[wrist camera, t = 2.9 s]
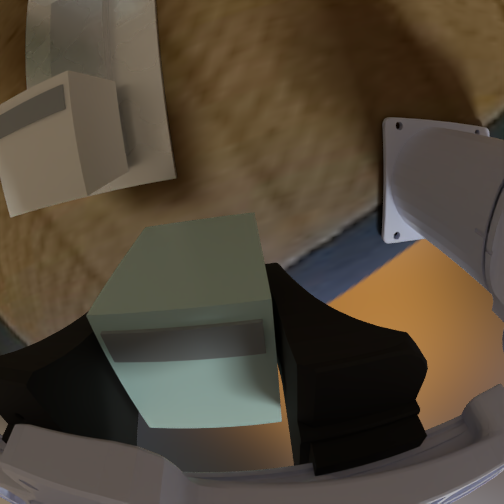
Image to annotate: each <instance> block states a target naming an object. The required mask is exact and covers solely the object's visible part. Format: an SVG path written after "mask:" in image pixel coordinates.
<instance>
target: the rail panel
mask: <svg viewBox="0 0 504 504" xmlns="http://www.w3.org/2000/svg"><path fill="white" fill-rule="evenodd" d="M67 70H68V71H73V72H78V73H83V74H87V75H92V76H96V77H100V78H104V79H108V80H112V81H115V84H116V92H117V101H118V108H119V115H120V122H121V129H122V135H123V141H124V147H125V153H126V158H127V164H128V169H129V172H127V173H125V174H124V175H122V176H120V177H118V178H117V179H115V180H113V181H112V182H110V183H108V184H107V185H105V186H103V187H102V188H100V189H98V190H97V191H95V192H94V193H92V194H90V195H89V196H91V195H96V194H100V193H104V192H109V191H113V190H118V189H123V188H128V187H132V186H137V185H142V184H148V183H153V182H158V181H164V180H170V179H175V178H177V172H176V166H175V160H174V154H173V148H172V141H171V135H170V128H169V121H168V114H167V106H166V99H165V91H164V83H163V74H162V65H161V56H160V45H159V35H158V23H157V9H156V0H57V1H55V2H53V3H51V4H49V5H48V6H46V7H44V6H41V5H39V4H37V3H34V2H32V1H30V0H28V7H27V20H26V83H27V89H29V88H31V87H33V86H35V85H37V84H39V83H41V82H43V81H45V80H47V79H49V78H52V77H54V76H56V75H58V74H60V73H63V72H65V71H67ZM86 197H87V196H86ZM82 198H83V197H82ZM78 199H79V198H78ZM74 200H75V199H74ZM70 201H71V200H70ZM66 202H67V201H66ZM55 205H56V204H55ZM51 206H52V205H51Z"/></svg>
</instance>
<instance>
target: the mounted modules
mask: <svg viewBox="0 0 504 504" xmlns="http://www.w3.org/2000/svg"><path fill="white" fill-rule="evenodd" d="M30 1H32V2H34V3H37V4H39V5H41V6H44V7H46V6H48V5H49V4H51V3H53V2H55V1H57V0H30ZM127 172H129V169H128V164H127V158H126V153H125V147H124V141H123V135H122V129H121V122H120V115H119V108H118V101H117V92H116V84H115V81H112V80H108V79H104V78H100V77H96V76H92V75H87V74H83V73H78V72H73V71H68V70H67V71H65V72H63V73H60V74H58V75H56V76H54V77H52V78H49V79H47V80H45V81H43V82H41V83H39V84H37V85H35V86H33V87H31V88H29V89H27V90H25V91H23V92H22V93H20V94H18V95H16V96H14V97H13V98H11V99H9V100H7V101H6V102H4V103H2V104H1V105H0V178H1V182H2V187H3V191H4V195H5V199H6V203H7V207H8V210H9V214H10V217H14V216H17V215H20V214H23V213H27V212H30V211H34V210H37V209H41V208H44V207H48V206H51V205H55V204H59V203H63V202H66V201H70V200H74V199H78V198H82V197H86V196H89V195H90V194H92V193H94V192H95V191H97V190H98V189H100V188H102V187H103V186H105V185H107V184H108V183H110V182H112V181H113V180H115V179H117V178H118V177H120V176H122V175H124V174H125V173H127Z"/></svg>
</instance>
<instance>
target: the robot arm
mask: <svg viewBox="0 0 504 504" xmlns="http://www.w3.org/2000/svg"><path fill="white" fill-rule="evenodd" d="M397 122H398V123H399V124H400V127H399V129H397V128H396V123H397ZM382 127H383V159H384V184H383V217H382V235H381V236H382V239H383V241H385V242H386V243H396V242H403V241H411V240H418V239H427V240H428V241H429V242H431V243H432V244H433V245H435V246H436V247H437V248H438V249H440V250H441V251H442V252H443V253H445V254H446V255H447V256H448V257H449V258H451V259H452V260H453V261H454V262H456V263H457V264H458V265H459V266H460V267H462V268H463V269H464V270H465V271H466V272H467V273H469V274H470V275H471V276H472V277H473V278H474V279H475V280H477V281H478V282H479V283H480V284H481V285H482V286H483V287H484V288H486V289H487V290H488V291H489V292H490V293H491V294H492V296H493V308H492V311H493V312H494V313H496V315H497V316H498V317H499V318H500V319H501V320H502V321H503V322H504V140H501V139H497V138H493V137H489V131H488V129H487V128H486V127H480V126H474V125H468V124H460V123H453V122H444V121H435V120H425V119H412V118H396V117H387V118H385V119H384V121H383V124H382ZM475 131H476V134H475ZM396 232H397V235H396V237H393V236H394V234H395V233H396ZM265 268H266V273H267V278H268V283H269V288H270V293H271V298H272V308H273V320H274V331H275V343H276V355H277V364H278V368H279V371H280V375H281V379H282V384H283V391H284V397H285V404H286V410H287V418H288V424H289V432H290V439H291V445H292V453H293V460H294V466H288V467H281V468H273V469H263V470H253V471H237V472H182V471H181V470H180V469H179V468H178V467H177V466H175V465H174V464H173V463H171V462H170V461H169V460H167V459H166V458H164V457H163V456H162V455H159V454H156V453H153V452H151V451H148V450H146V449H143V448H141V447H138V446H137V425H138V412H139V411H138V409H137V407H136V406H135V404H134V403H133V401H132V400H131V398H130V396H129V395H128V393H127V392H126V390H125V388H124V387H123V385H122V383H121V382H120V380H119V378H118V376H117V375H116V373H115V371H114V369H113V368H112V366H111V364H110V362H109V360H108V358H107V357H106V355H105V353H104V351H103V349H102V347H101V345H100V343H99V341H98V339H97V337H96V335H95V333H94V331H93V329H92V327H91V325H90V323H89V321H88V318H87V316H86V315H87V313H88V312H89V311H88V312H87V313H86V314H84V315H83V316H82V317H80V318H79V319H77V320H76V321H74V322H73V323H71V324H70V325H68V326H67V327H65V328H63V329H62V330H60V331H58V332H56V333H55V334H53V335H51V336H49V337H47V338H45V339H43V340H41V341H39V342H37V343H35V344H32V345H30V346H28V347H25V348H23V349H20V350H17V351H14V352H11V353H8V354H5V355H1V356H0V415H1V416H2V417H3V419H4V420H5V421H6V422H7V423H8V426H7V428H6V430H5V432H4V434H3V435H1V434H0V497H1V498H3V499H5V500H7V501H9V502H10V503H12V504H451V503H453V502H455V501H457V500H458V499H460V498H462V497H464V496H465V495H467V494H469V493H470V492H472V491H474V490H476V489H477V488H479V487H480V486H482V485H484V484H485V483H487V482H488V481H490V480H491V479H492V478H494V477H496V476H497V475H498V474H499V473H500V472H502V471H503V470H504V387H503V386H502V385H501V384H498V385H496V386H494V387H493V388H491V389H489V390H487V391H485V392H483V393H481V394H479V395H478V396H476V397H474V398H473V399H472V400H471V401H470V402H469V403H468V404H467V405H466V407H465V408H464V410H463V412H462V415H460V416H458V417H456V418H454V419H452V420H449V421H447V422H445V423H442V424H440V425H438V426H436V427H433V428H431V429H428V430H426V431H425V430H424V428H423V426H422V424H421V422H420V419H419V417H418V415H417V414H419V412H420V408H419V406H418V404H417V402H416V400H415V399H416V397H417V395H418V393H419V390H420V388H421V386H422V383H423V381H424V379H425V376H426V373H427V369H428V368H427V360H426V359H425V357H424V356H423V354H422V353H421V351H420V349H419V348H418V346H417V345H416V343H415V342H414V341H413V339H412V338H411V337H410V336H409V334H408V333H406V332H402V331H397V330H392V329H388V328H383V327H379V326H376V325H373V324H370V323H367V322H363V321H361V320H358V319H355V318H353V317H351V316H348V315H346V314H344V313H342V312H339V311H338V310H335V309H334V308H332V307H330V306H328V305H327V304H325V303H323V302H322V301H320V300H318V299H317V298H315V297H314V296H313V295H311V294H310V293H309V292H307V291H306V290H305V289H304V288H302V287H301V286H300V285H299V284H298V283H297V282H296V281H295V280H294V279H292V278H291V277H290V276H289V275H288V274H287V273H286V271H285V270H284V269H283V268H282V267H281V266H280V265H279V264H278V263H270V264H265ZM502 340H503V351H504V331H503V338H502Z"/></svg>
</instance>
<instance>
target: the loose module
mask: <svg viewBox="0 0 504 504" xmlns="http://www.w3.org/2000/svg"><path fill="white" fill-rule="evenodd" d="M86 316H87V318H88V321H89V323H90V325H91V327H92V329H93V331H94V333H95V335H96V337H97V339H98V341H99V343H100V345H101V347H102V349H103V351H104V353H105V355H106V357H107V358H108V360H109V362H110V364H111V366H112V368H113V369H114V371H115V373H116V375H117V376H118V378H119V380H120V382H121V383H122V385H123V387H124V388H125V390H126V392H127V393H128V395H129V396H130V398H131V400H132V401H133V403H134V404H135V406H136V407H137V409H138V411H139V412H140V414H141V415H142V417H143V418H144V419H145V421H146V422H147V424H148V425H149V427H152V428H214V427H232V426H245V425H256V424H265V423H273V422H281V421H282V420H281V407H280V393H279V380H278V368H277V355H276V343H275V331H274V320H273V308H272V298H271V293H270V288H269V283H268V278H267V273H266V268H265V263H264V258H263V253H262V248H261V243H260V238H259V233H258V228H257V223H256V218H255V213H246V214H237V215H229V216H222V217H214V218H207V219H199V220H192V221H185V222H178V223H171V224H164V225H158V226H151V227H145V229H144V230H143V231H142V233H141V234H140V236H139V237H138V238H137V240H136V241H135V242H134V244H133V245H132V247H131V248H130V249H129V251H128V252H127V254H126V255H125V257H124V258H123V260H122V261H121V262H120V264H119V265H118V267H117V268H116V270H115V271H114V273H113V274H112V276H111V277H110V279H109V280H108V282H107V283H106V285H105V286H104V288H103V289H102V291H101V293H100V294H99V296H98V297H97V299H96V300H95V302H94V304H93V305H92V307H91V308H90V310H89V312H88V313H87V315H86Z"/></svg>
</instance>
